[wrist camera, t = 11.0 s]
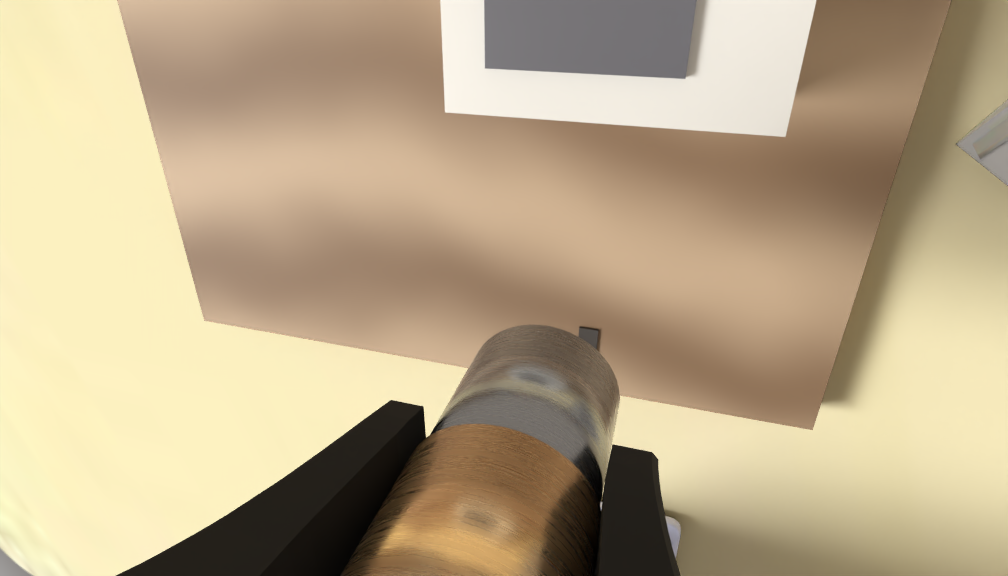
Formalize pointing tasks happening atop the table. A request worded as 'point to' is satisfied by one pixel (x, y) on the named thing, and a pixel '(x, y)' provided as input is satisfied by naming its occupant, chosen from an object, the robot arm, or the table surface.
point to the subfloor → (524, 198)
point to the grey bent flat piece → (990, 143)
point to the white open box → (628, 61)
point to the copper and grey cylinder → (505, 468)
